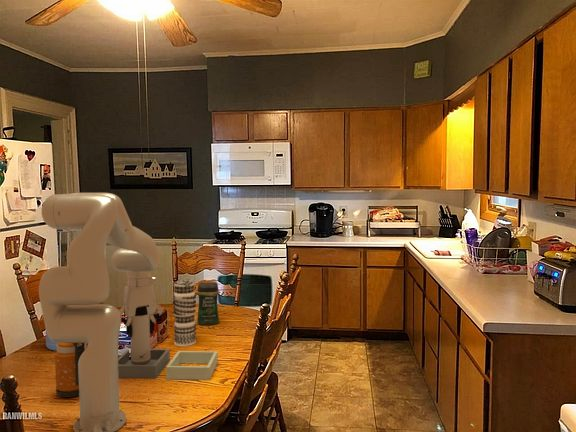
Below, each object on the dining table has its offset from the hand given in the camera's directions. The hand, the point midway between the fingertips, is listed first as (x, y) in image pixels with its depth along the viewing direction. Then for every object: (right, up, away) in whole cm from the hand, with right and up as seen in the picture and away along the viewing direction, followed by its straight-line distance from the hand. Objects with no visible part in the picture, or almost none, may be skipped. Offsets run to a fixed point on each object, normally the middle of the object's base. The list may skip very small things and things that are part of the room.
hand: (140, 334), depth 150 cm
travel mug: (0, -10, +1) cm, 10 cm away
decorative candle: (+9, -11, +26) cm, 30 cm away
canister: (-14, -13, -17) cm, 26 cm away
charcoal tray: (0, -12, +1) cm, 12 cm away
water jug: (-37, -11, +24) cm, 45 cm away
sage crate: (+18, -12, -1) cm, 22 cm away
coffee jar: (+14, -9, +51) cm, 54 cm away
